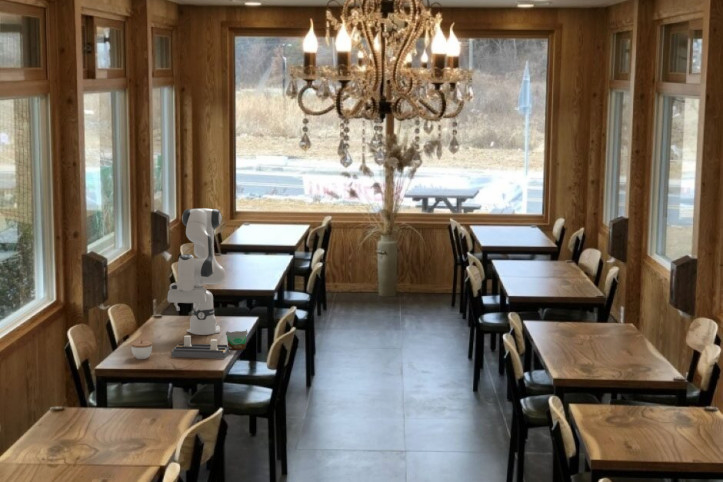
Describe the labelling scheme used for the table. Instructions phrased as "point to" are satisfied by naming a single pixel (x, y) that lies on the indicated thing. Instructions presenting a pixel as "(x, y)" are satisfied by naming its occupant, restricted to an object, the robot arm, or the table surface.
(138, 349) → the lidded jar
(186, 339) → the tab
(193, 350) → the switch board
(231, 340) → the food container
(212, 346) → the tab
